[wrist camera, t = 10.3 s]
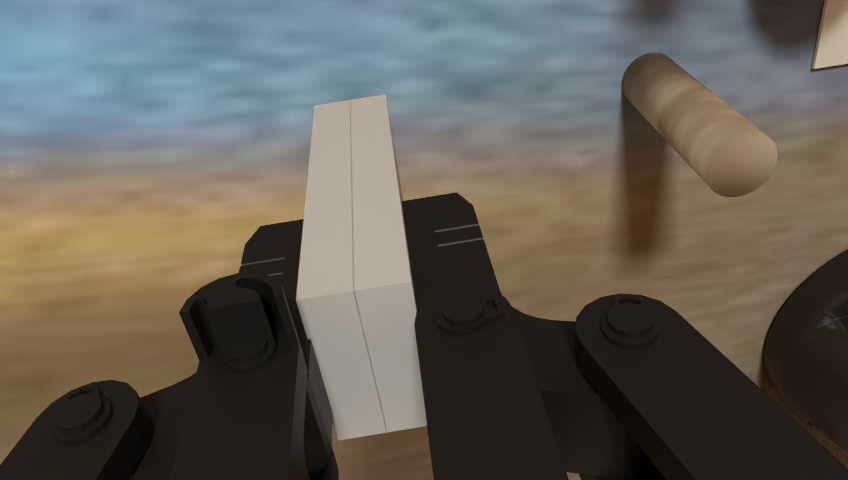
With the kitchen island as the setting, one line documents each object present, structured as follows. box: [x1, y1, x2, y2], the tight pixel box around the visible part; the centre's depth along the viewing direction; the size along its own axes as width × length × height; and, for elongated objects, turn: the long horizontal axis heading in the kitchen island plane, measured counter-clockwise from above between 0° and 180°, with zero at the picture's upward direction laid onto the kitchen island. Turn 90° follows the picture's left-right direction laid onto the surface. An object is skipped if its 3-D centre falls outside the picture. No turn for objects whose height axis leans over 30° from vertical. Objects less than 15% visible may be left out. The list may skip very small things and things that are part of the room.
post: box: [622, 53, 778, 197], centre depth 28 cm, size 3×3×9 cm
